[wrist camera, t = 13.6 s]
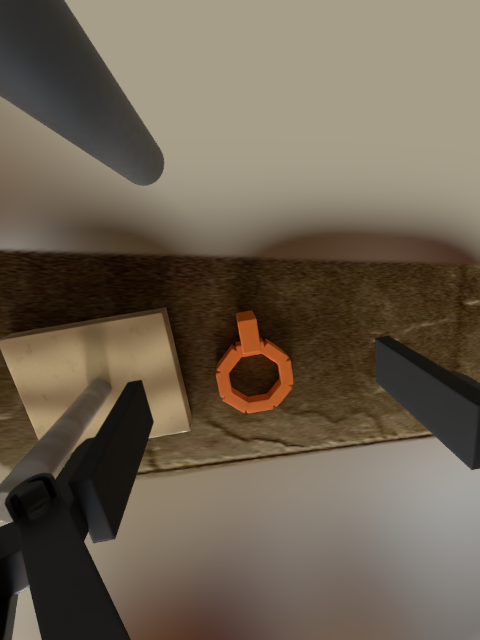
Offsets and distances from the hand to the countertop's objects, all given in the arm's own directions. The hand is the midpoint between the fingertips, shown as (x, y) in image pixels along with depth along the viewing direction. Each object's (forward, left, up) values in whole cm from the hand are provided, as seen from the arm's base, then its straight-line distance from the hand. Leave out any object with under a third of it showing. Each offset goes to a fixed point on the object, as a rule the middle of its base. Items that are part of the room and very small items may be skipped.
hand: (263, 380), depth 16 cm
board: (+3, -14, -12) cm, 19 cm away
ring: (+4, 0, -12) cm, 12 cm away
